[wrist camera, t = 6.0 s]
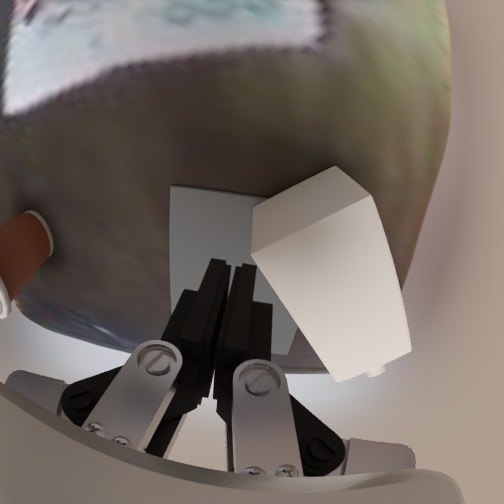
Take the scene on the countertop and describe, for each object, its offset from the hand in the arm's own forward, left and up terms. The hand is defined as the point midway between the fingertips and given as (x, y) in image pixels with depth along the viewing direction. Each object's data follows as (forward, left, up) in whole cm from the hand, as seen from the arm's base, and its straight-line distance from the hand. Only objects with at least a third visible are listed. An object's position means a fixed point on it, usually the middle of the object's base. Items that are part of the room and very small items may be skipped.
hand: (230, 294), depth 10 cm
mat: (+9, 0, -12) cm, 15 cm away
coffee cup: (+8, -25, -13) cm, 29 cm away
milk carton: (-2, +3, -8) cm, 9 cm away
